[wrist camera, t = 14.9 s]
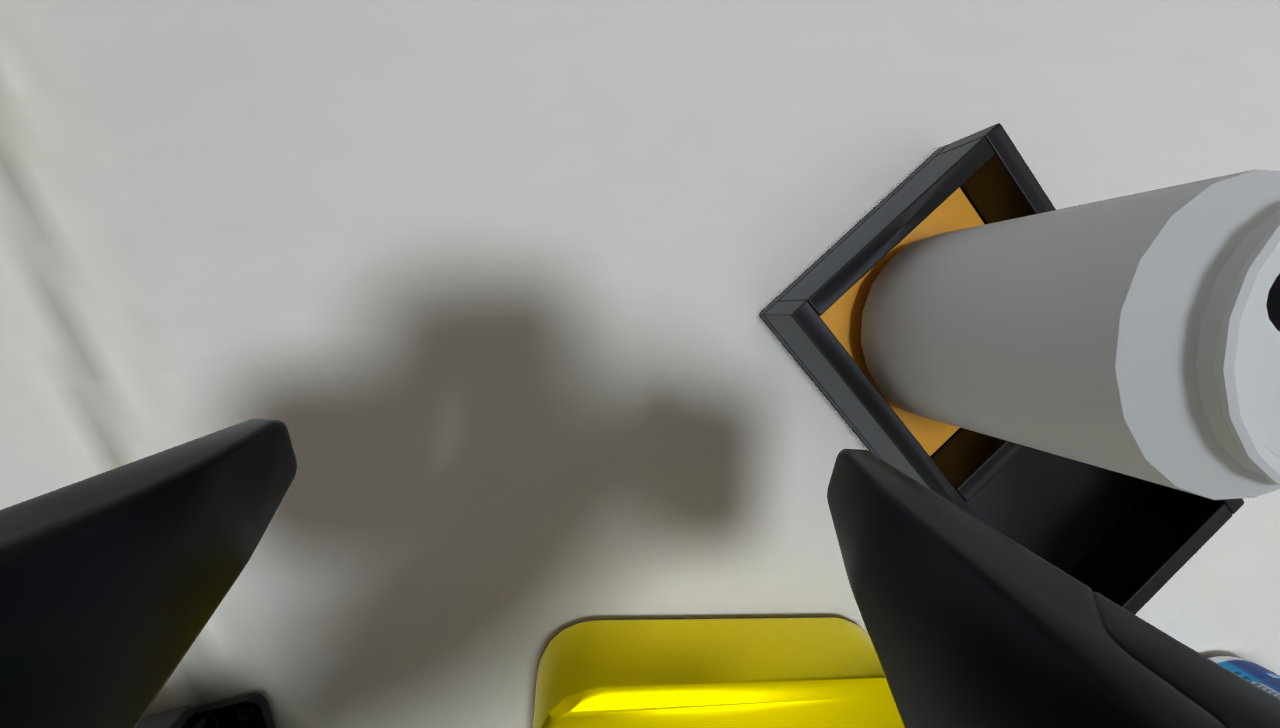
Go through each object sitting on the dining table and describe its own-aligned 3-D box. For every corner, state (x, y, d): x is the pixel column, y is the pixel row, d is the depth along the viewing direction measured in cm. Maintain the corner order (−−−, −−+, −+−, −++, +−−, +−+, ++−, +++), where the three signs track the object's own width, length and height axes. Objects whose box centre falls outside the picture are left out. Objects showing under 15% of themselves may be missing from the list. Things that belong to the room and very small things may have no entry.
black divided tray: (940, 147, 22) (1000, 121, 19) (1166, 481, 25) (1246, 503, 23) (758, 314, 21) (791, 315, 18) (1016, 630, 25) (1078, 673, 22)
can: (1002, 225, 22) (1527, 124, 10) (1012, 397, 23) (1503, 490, 11) (839, 249, 21) (1213, 166, 9) (856, 428, 22) (1217, 568, 10)
